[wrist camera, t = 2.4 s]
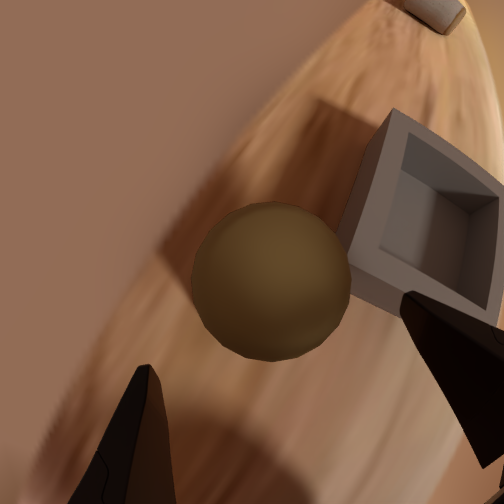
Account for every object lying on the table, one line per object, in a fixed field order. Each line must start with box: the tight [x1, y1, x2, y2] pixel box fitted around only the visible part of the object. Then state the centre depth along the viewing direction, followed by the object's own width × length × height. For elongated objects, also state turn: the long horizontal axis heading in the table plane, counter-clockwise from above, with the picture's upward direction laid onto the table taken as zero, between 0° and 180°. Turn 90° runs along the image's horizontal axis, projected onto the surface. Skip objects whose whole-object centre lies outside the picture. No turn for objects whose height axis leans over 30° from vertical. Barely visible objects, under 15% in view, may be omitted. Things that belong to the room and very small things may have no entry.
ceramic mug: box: [404, 0, 466, 36], centre depth 27 cm, size 11×8×8 cm
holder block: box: [336, 108, 504, 327], centre depth 18 cm, size 12×12×5 cm
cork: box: [191, 202, 352, 362], centre depth 14 cm, size 6×6×11 cm
